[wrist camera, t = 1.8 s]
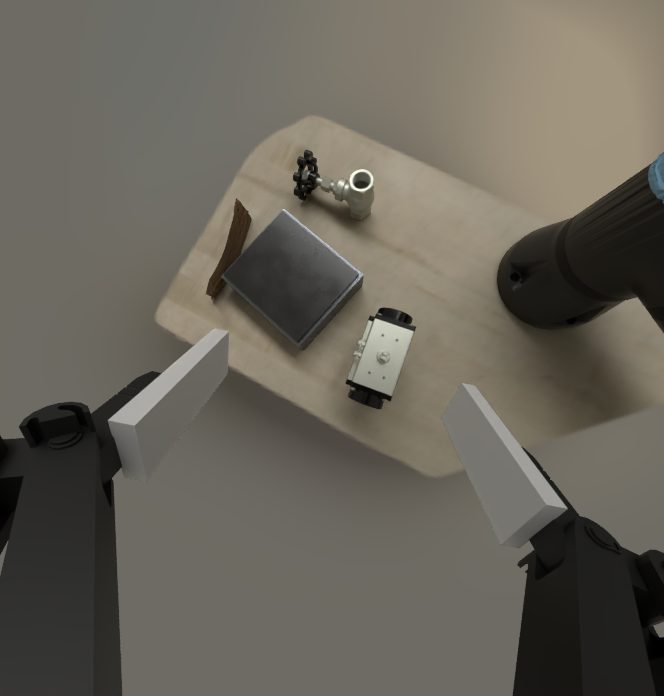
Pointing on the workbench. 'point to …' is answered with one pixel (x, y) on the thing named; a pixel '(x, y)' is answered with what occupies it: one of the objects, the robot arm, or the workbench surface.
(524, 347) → the workbench surface
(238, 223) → the wood plank
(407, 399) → the workbench surface
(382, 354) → the pneumatic valve
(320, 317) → the stand
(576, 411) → the workbench surface
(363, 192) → the valve
